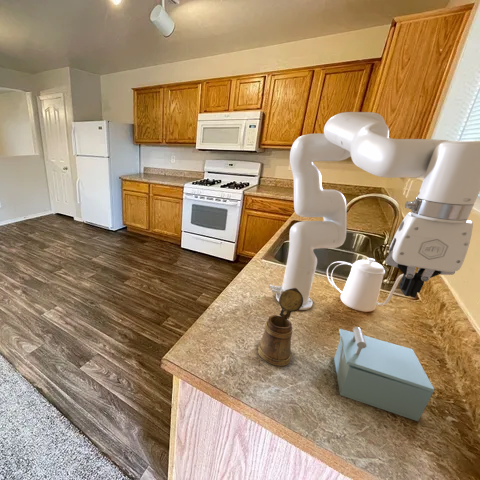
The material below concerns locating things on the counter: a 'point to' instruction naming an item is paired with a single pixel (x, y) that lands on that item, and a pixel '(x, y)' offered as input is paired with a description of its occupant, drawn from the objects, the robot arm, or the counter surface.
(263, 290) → the counter surface
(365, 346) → the lid
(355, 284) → the coffeepot
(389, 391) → the chest
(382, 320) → the counter surface
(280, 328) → the wooden mug
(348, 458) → the counter surface
